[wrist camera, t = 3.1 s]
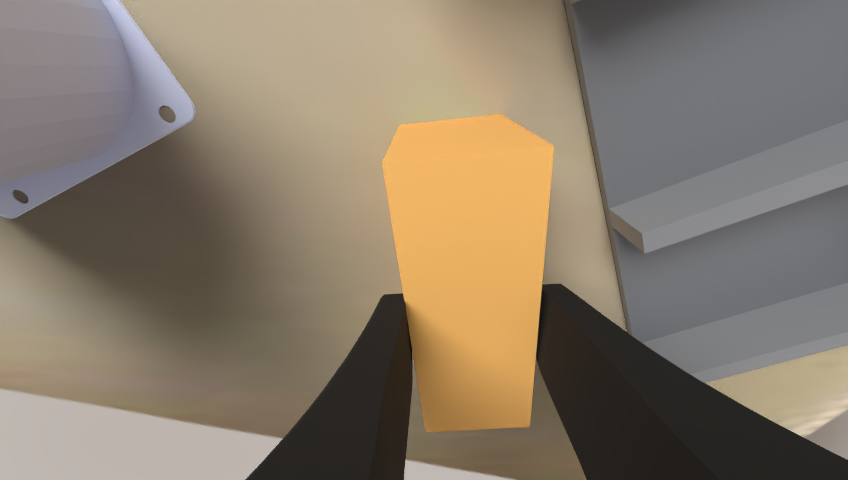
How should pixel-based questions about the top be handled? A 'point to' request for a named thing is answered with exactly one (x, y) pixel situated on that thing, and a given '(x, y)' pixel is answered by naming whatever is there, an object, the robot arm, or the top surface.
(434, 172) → the orange rectangular block
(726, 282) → the grey rectangular tray
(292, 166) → the top surface
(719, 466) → the robot arm
